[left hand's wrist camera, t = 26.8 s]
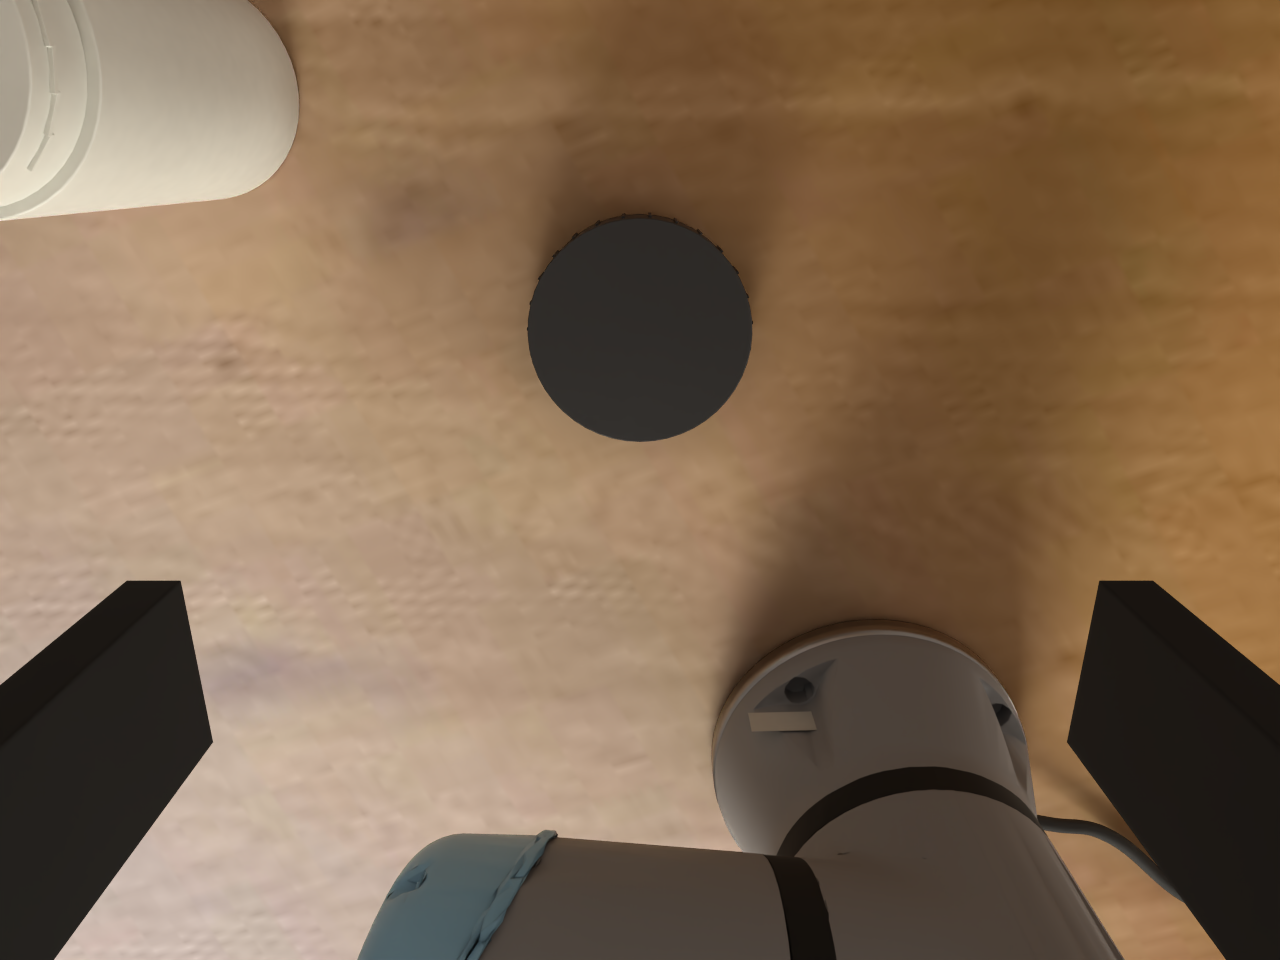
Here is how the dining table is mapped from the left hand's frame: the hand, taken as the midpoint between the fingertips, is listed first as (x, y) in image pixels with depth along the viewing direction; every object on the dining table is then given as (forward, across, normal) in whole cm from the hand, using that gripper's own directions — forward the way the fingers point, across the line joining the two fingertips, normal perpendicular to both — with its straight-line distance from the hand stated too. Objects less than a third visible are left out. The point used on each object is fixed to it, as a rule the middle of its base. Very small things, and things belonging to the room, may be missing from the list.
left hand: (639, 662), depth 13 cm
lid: (+24, 0, 0) cm, 24 cm away
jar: (+26, +17, -9) cm, 33 cm away
